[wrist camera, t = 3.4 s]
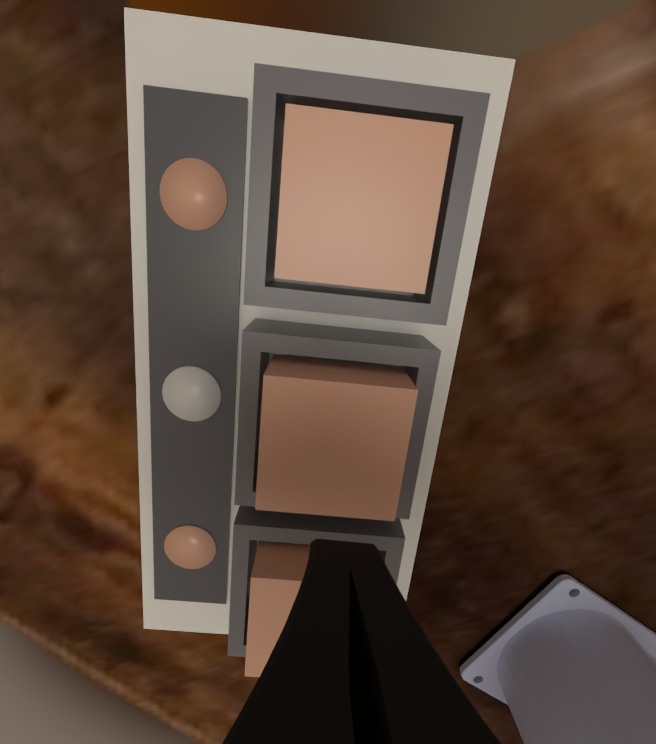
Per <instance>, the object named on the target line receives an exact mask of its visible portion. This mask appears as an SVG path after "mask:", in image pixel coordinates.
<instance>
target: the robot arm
mask: <svg viewBox="0 0 656 744" xmlns="http://www.w3.org/2000/svg"><path fill="white" fill-rule="evenodd" d="M572 589H573V590H572ZM460 673H461V676H462V679H463V680H465V681H466V682H468V683H470V684H472V685H473V686H475V687H477V688H479V689H481V690H482V691H484V692H486V693H488V694H489V695H491V696H493V697H495V698H496V699H498V700H500V701H502V702H503V703H505V704H507V705H508V706H509V708H510V711H511V713H512V716H513V718H514V720H515V723H516V725H517V728H518V730H519V733H520V735H521V737H522V740H523V742H524V744H656V633H655V632H653V631H652V630H650V629H649V628H647V627H646V626H644V625H643V624H641V623H640V622H638V621H637V620H635V619H634V618H632V617H631V616H629V615H628V614H626V613H625V612H623V611H622V610H620V609H619V608H617V607H616V606H614V605H613V604H612V603H610V602H609V601H607V600H606V599H604V598H603V597H601V596H600V595H598V594H597V593H595V592H594V591H592V590H591V589H589V588H588V587H586V586H585V585H583V584H582V583H580V582H579V581H577V580H576V579H574V578H573V577H571V576H569V575H559V576H558V577H556V578H555V579H554V580H553V581H552V582H551V583H550V584H549V585H548V586H546V587H545V588H544V589H543V590H542V591H541V592H540V593H539V594H538V595H537V596H536V597H535V598H533V599H532V600H531V601H530V602H529V603H528V604H527V605H526V606H525V607H524V608H523V609H522V610H521V611H519V612H518V613H517V614H516V615H515V616H514V617H513V618H512V619H511V620H510V621H509V622H508V623H506V624H505V625H504V626H503V627H502V628H501V629H500V630H499V631H498V632H497V633H496V634H495V635H494V636H492V637H491V638H490V639H489V640H488V641H487V642H486V643H485V644H484V645H483V646H482V647H481V648H479V649H478V650H477V651H476V652H475V653H474V654H473V655H472V656H471V657H470V658H469V659H468V660H467V661H465V662H464V663H463V664H462V665H461V667H460ZM222 744H501V743H500V741H499V740H498V739H497V737H496V736H495V735H494V733H493V732H492V731H491V730H490V728H489V727H488V725H487V724H486V723H485V721H484V720H483V719H482V717H481V716H480V715H479V713H478V712H477V710H476V709H475V708H474V706H473V705H472V703H471V702H470V701H469V699H468V698H467V696H466V695H465V694H464V692H463V691H462V689H461V688H460V686H459V685H458V683H457V682H456V680H455V679H454V677H453V676H452V674H451V673H450V671H449V670H448V669H447V667H446V666H445V664H444V663H443V661H442V659H441V658H440V656H439V655H438V653H437V652H436V650H435V649H434V647H433V646H432V644H431V642H430V641H429V639H428V637H427V636H426V634H425V633H424V631H423V629H422V628H421V626H420V624H419V623H418V621H417V619H416V618H415V616H414V615H413V613H412V611H411V609H410V608H409V606H408V604H407V603H406V601H405V599H404V597H403V595H402V594H401V592H400V590H399V588H398V586H397V585H396V583H395V581H394V579H393V577H392V575H391V574H390V572H389V570H388V568H387V566H386V564H385V562H384V560H383V558H382V556H381V554H380V552H379V550H378V548H377V547H376V546H375V545H374V544H369V543H359V542H348V541H338V540H327V539H315V540H314V541H312V542H311V543H310V551H309V558H308V563H307V566H306V570H305V573H304V576H303V579H302V582H301V585H300V588H299V591H298V594H297V596H296V599H295V601H294V603H293V606H292V608H291V611H290V613H289V616H288V618H287V621H286V623H285V625H284V628H283V630H282V632H281V634H280V636H279V638H278V640H277V642H276V644H275V647H274V649H273V651H272V653H271V655H270V657H269V659H268V661H267V663H266V665H265V667H264V669H263V671H262V673H261V675H260V677H259V679H258V681H257V683H256V685H255V687H254V688H253V690H252V692H251V694H250V696H249V698H248V700H247V701H246V703H245V705H244V707H243V709H242V710H241V712H240V714H239V716H238V717H237V719H236V721H235V723H234V724H233V726H232V728H231V730H230V731H229V733H228V735H227V737H226V738H225V740H224V742H223V743H222Z"/></svg>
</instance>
